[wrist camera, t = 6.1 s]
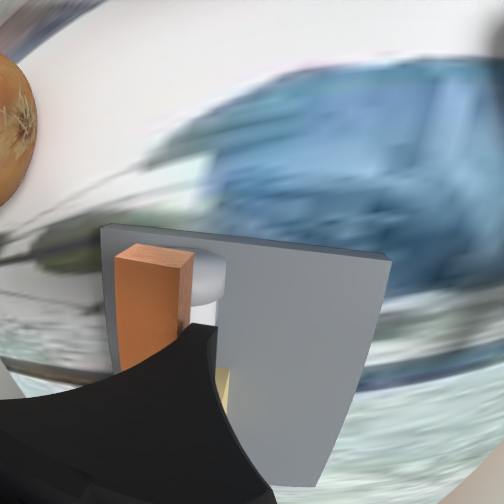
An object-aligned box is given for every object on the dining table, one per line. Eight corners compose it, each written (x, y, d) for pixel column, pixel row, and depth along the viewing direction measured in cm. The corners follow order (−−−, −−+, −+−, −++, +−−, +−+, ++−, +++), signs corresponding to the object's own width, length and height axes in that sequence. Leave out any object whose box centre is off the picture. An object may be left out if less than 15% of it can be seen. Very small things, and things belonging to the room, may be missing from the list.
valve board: (314, 475, 20) (317, 541, 14) (137, 449, 21) (111, 507, 15) (384, 254, 15) (439, 308, 9) (111, 223, 16) (34, 257, 10)
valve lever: (193, 479, 12) (186, 506, 10) (145, 467, 12) (135, 492, 10) (204, 254, 9) (189, 274, 7) (127, 241, 9) (99, 258, 7)
